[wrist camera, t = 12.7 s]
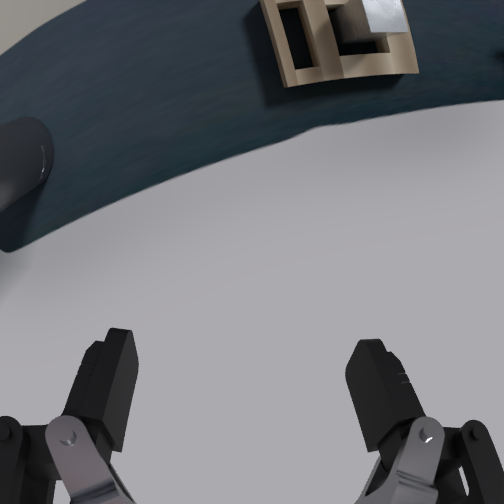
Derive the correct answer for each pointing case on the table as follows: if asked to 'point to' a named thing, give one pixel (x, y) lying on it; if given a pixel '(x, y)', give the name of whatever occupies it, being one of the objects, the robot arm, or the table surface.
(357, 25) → the grey rectangular block
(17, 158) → the robot arm
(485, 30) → the table surface
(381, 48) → the holder
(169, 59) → the table surface
